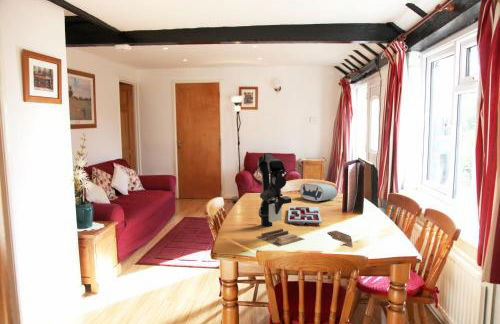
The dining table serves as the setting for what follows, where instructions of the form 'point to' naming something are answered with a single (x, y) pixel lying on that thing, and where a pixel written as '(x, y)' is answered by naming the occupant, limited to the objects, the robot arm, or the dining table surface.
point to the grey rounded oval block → (317, 191)
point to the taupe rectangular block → (272, 214)
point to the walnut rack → (275, 237)
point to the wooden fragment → (341, 237)
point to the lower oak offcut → (287, 241)
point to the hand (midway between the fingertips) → (275, 213)
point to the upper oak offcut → (286, 237)
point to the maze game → (304, 215)
